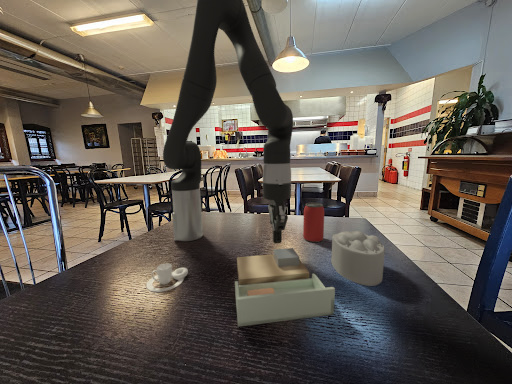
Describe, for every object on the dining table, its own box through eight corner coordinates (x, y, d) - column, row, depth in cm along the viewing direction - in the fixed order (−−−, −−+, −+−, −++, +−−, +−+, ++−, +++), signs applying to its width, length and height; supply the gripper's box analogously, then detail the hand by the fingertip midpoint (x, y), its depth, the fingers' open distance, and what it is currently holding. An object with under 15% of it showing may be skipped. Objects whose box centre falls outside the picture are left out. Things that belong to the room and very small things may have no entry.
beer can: (324, 243, 69) (325, 206, 67) (303, 242, 71) (304, 206, 69) (322, 235, 76) (323, 202, 74) (303, 234, 77) (303, 201, 75)
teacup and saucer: (189, 271, 54) (188, 256, 54) (184, 290, 47) (183, 273, 46) (152, 275, 53) (150, 260, 52) (141, 296, 45) (139, 278, 45)
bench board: (240, 292, 45) (239, 279, 44) (237, 268, 55) (236, 257, 54) (308, 285, 47) (309, 272, 47) (294, 263, 57) (294, 252, 56)
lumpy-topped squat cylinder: (365, 257, 59) (367, 227, 58) (395, 285, 47) (399, 247, 45) (327, 258, 59) (328, 228, 58) (347, 286, 47) (349, 248, 45)
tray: (237, 326, 36) (236, 299, 35) (235, 294, 44) (234, 272, 44) (333, 314, 38) (335, 288, 38) (314, 286, 47) (314, 264, 46)
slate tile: (278, 267, 49) (278, 258, 49) (273, 257, 54) (273, 249, 54) (299, 265, 50) (299, 257, 50) (292, 255, 55) (292, 247, 54)
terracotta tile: (247, 290, 41) (247, 299, 42) (250, 308, 37) (251, 318, 37) (272, 287, 42) (272, 296, 43) (279, 304, 37) (279, 315, 38)
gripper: (259, 178, 64) (260, 234, 66) (267, 184, 51) (268, 253, 54) (283, 177, 65) (283, 233, 67) (298, 183, 52) (297, 251, 55)
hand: (277, 242), depth 60 cm, fingers closed
